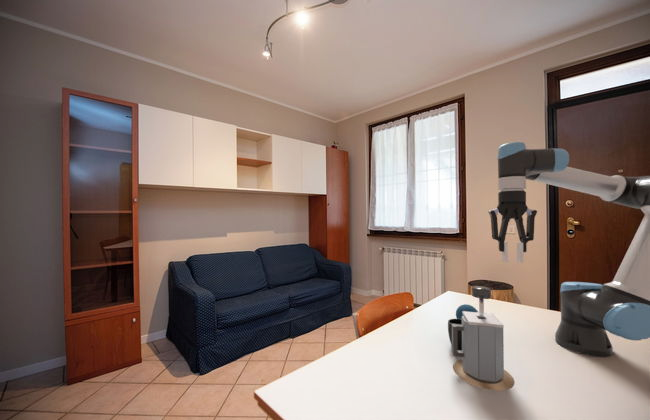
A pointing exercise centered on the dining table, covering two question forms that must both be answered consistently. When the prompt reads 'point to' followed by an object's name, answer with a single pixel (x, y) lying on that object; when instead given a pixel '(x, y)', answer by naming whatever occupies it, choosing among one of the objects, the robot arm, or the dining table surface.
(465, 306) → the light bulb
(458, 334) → the mug
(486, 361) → the carafe
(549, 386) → the dining table surface
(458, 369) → the cork trivet
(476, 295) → the plunger
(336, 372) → the dining table surface
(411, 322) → the dining table surface
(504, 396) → the dining table surface
